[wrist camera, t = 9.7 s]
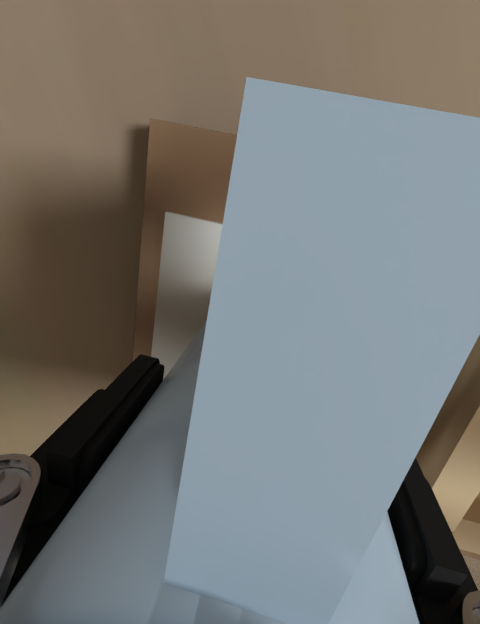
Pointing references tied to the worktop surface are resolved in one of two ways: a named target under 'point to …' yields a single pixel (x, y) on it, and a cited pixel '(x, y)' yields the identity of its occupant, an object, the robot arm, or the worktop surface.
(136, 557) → the blue cylinder with tab
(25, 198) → the worktop surface
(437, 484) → the cradle
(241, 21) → the worktop surface
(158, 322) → the board
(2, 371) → the worktop surface
